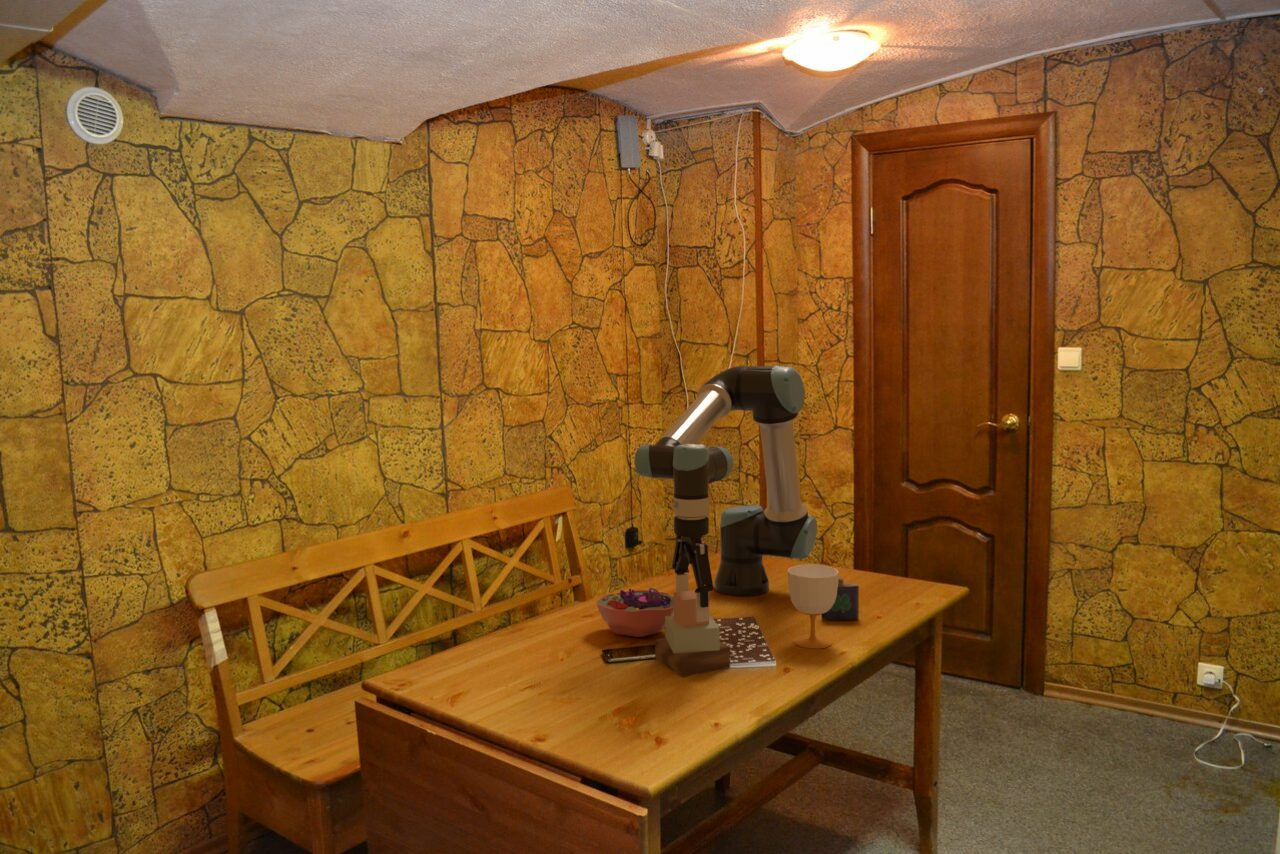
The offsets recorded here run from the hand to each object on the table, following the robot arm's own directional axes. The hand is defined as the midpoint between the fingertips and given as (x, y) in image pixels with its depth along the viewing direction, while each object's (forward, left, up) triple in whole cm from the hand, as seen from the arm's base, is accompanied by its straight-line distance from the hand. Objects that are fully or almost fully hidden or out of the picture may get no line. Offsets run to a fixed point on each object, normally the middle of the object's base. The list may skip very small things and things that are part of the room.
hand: (692, 611), depth 203 cm
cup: (-4, +31, -12) cm, 33 cm away
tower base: (0, 0, -12) cm, 12 cm away
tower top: (0, 0, -7) cm, 7 cm away
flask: (-17, +45, -12) cm, 50 cm away
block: (0, 0, -2) cm, 2 cm away
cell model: (-23, -6, -12) cm, 27 cm away
